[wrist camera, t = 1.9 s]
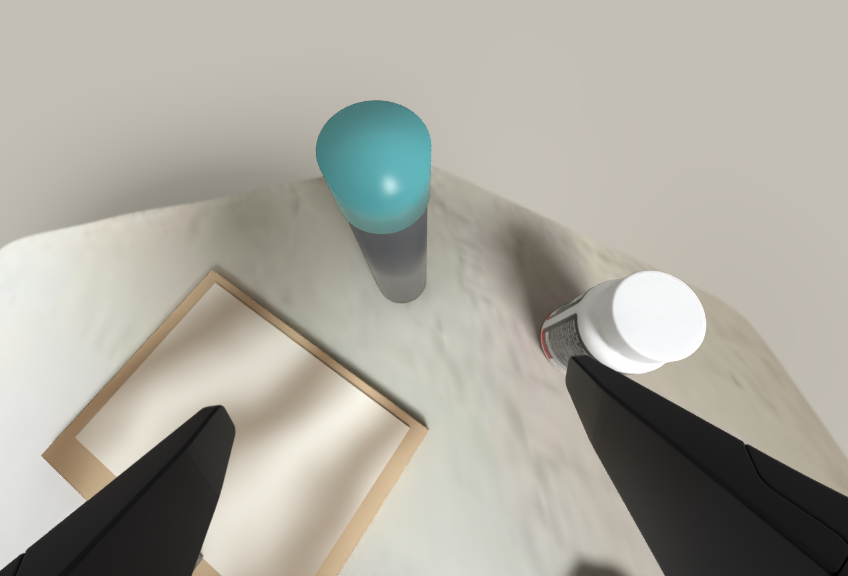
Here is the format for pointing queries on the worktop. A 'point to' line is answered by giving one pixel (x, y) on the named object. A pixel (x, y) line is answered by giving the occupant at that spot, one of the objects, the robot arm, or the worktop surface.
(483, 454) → the worktop surface
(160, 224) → the worktop surface
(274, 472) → the clipboard
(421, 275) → the ball
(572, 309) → the pill bottle
